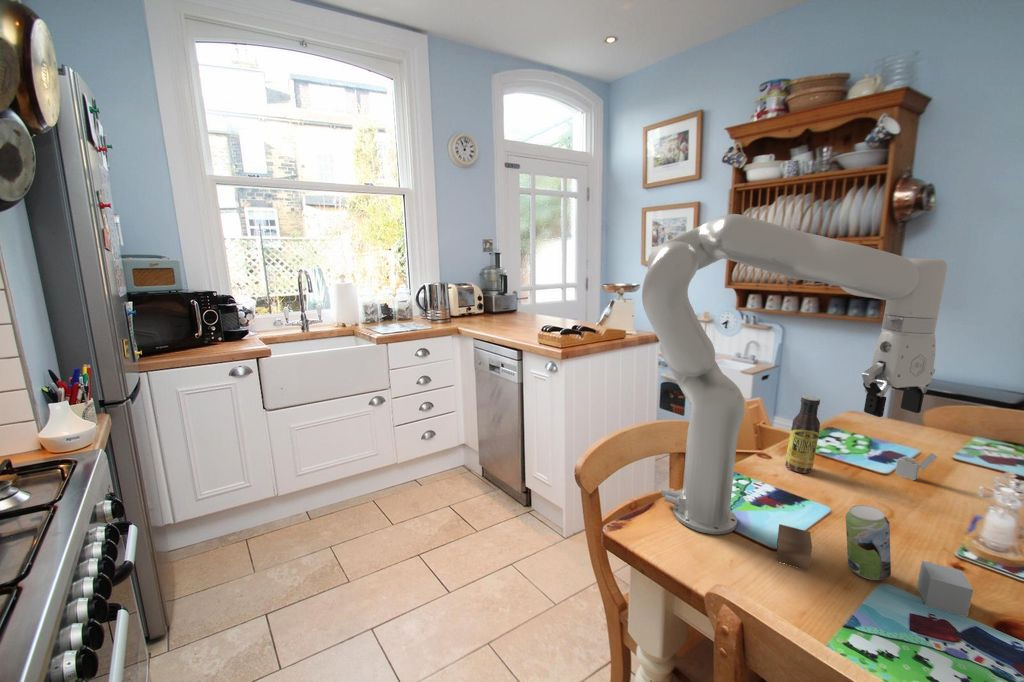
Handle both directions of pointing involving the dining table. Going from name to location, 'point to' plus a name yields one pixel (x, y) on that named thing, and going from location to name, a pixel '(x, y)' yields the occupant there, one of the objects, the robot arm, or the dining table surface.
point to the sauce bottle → (804, 436)
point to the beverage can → (868, 542)
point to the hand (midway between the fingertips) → (891, 412)
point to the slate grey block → (944, 588)
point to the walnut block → (794, 547)
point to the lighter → (912, 466)
